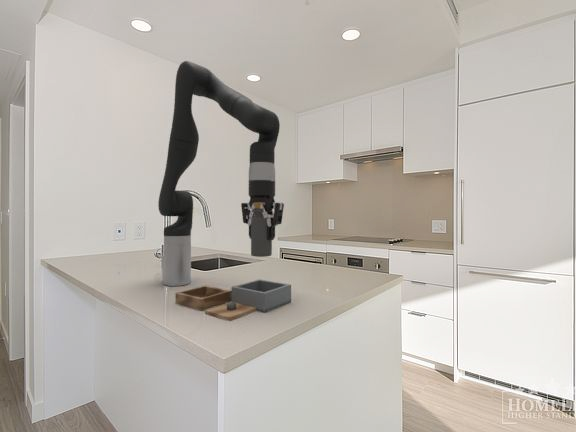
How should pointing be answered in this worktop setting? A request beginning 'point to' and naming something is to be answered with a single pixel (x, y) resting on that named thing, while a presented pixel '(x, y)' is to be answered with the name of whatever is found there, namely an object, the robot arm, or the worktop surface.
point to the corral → (196, 301)
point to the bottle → (259, 233)
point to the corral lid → (230, 311)
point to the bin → (262, 294)
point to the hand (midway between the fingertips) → (261, 239)
